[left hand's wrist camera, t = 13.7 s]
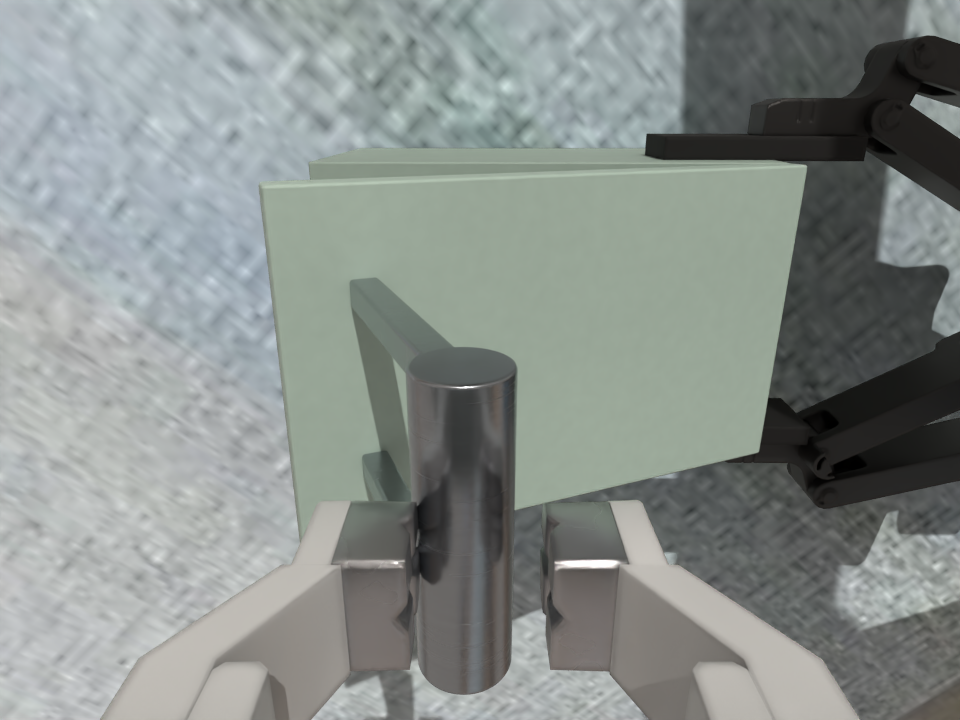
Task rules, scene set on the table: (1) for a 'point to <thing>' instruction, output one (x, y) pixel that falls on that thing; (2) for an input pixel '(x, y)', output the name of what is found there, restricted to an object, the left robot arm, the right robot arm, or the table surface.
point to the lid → (519, 353)
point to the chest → (490, 161)
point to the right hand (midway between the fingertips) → (641, 293)
